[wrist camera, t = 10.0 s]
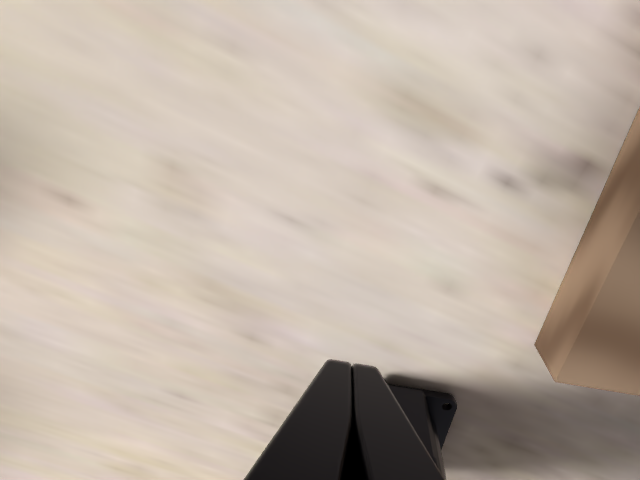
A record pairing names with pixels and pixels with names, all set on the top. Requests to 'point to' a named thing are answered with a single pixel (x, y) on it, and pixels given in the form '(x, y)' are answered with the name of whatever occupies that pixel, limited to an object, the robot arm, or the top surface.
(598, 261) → the trap board
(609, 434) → the top surface
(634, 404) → the top surface
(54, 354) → the top surface
